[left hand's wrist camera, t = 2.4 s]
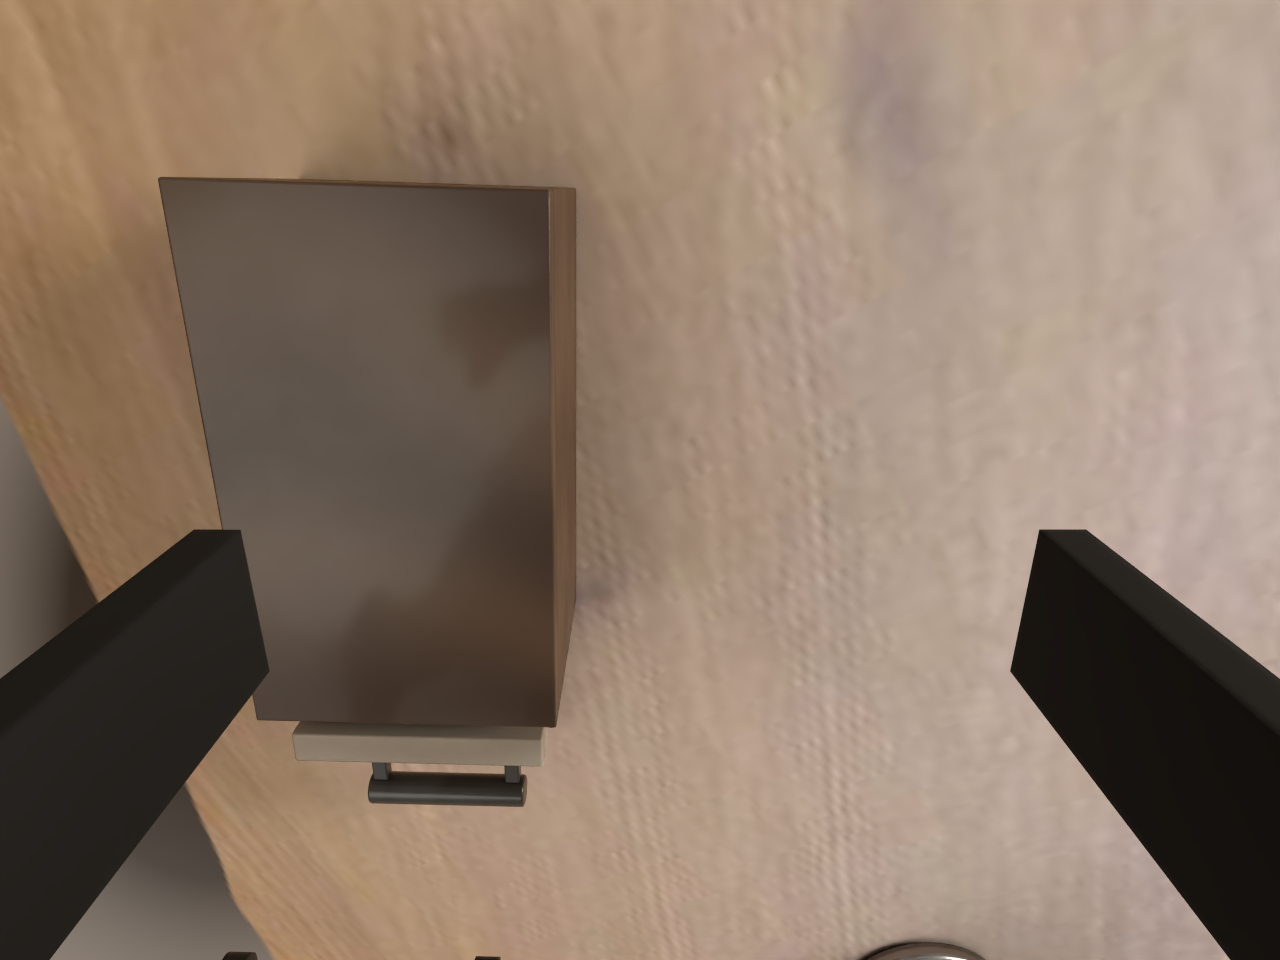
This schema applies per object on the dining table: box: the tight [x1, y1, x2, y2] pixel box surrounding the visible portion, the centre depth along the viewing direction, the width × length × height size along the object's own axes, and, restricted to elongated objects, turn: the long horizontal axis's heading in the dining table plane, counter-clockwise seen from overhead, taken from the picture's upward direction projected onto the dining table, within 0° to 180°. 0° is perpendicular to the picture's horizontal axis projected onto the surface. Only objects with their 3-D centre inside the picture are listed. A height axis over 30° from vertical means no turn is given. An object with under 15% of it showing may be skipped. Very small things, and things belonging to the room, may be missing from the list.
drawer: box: [292, 721, 549, 807], centre depth 29 cm, size 21×9×7 cm, turn 178°
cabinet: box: [158, 177, 576, 727], centre depth 27 cm, size 17×10×9 cm, turn 178°
